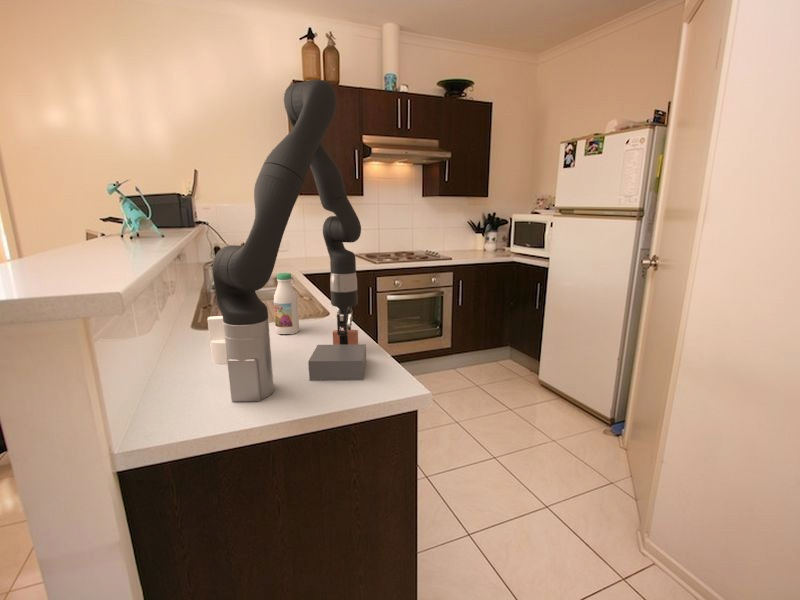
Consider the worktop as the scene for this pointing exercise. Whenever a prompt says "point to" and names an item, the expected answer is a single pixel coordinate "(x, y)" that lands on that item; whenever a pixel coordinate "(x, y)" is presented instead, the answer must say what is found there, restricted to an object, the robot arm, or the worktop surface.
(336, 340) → the peach l-shaped block
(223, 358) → the base with upright slab
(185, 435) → the worktop surface
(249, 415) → the worktop surface
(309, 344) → the worktop surface
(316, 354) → the grey square block
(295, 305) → the milk bottle
